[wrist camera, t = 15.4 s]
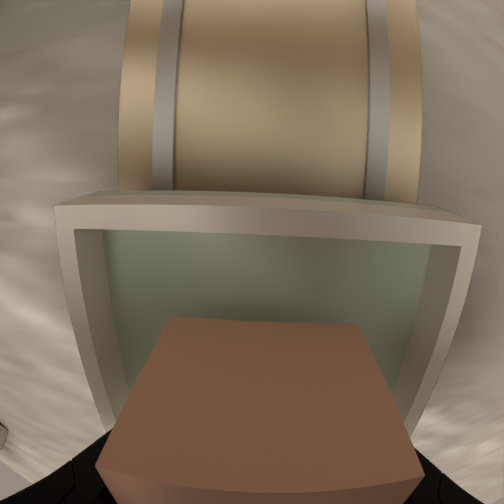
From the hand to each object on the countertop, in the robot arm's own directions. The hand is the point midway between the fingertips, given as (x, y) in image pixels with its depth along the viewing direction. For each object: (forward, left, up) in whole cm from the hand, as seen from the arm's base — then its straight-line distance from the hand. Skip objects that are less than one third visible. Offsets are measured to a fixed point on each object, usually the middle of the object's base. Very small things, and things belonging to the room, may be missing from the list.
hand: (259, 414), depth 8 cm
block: (0, 0, -1) cm, 1 cm away
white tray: (0, 0, -5) cm, 5 cm away
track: (-5, 0, -6) cm, 8 cm away
